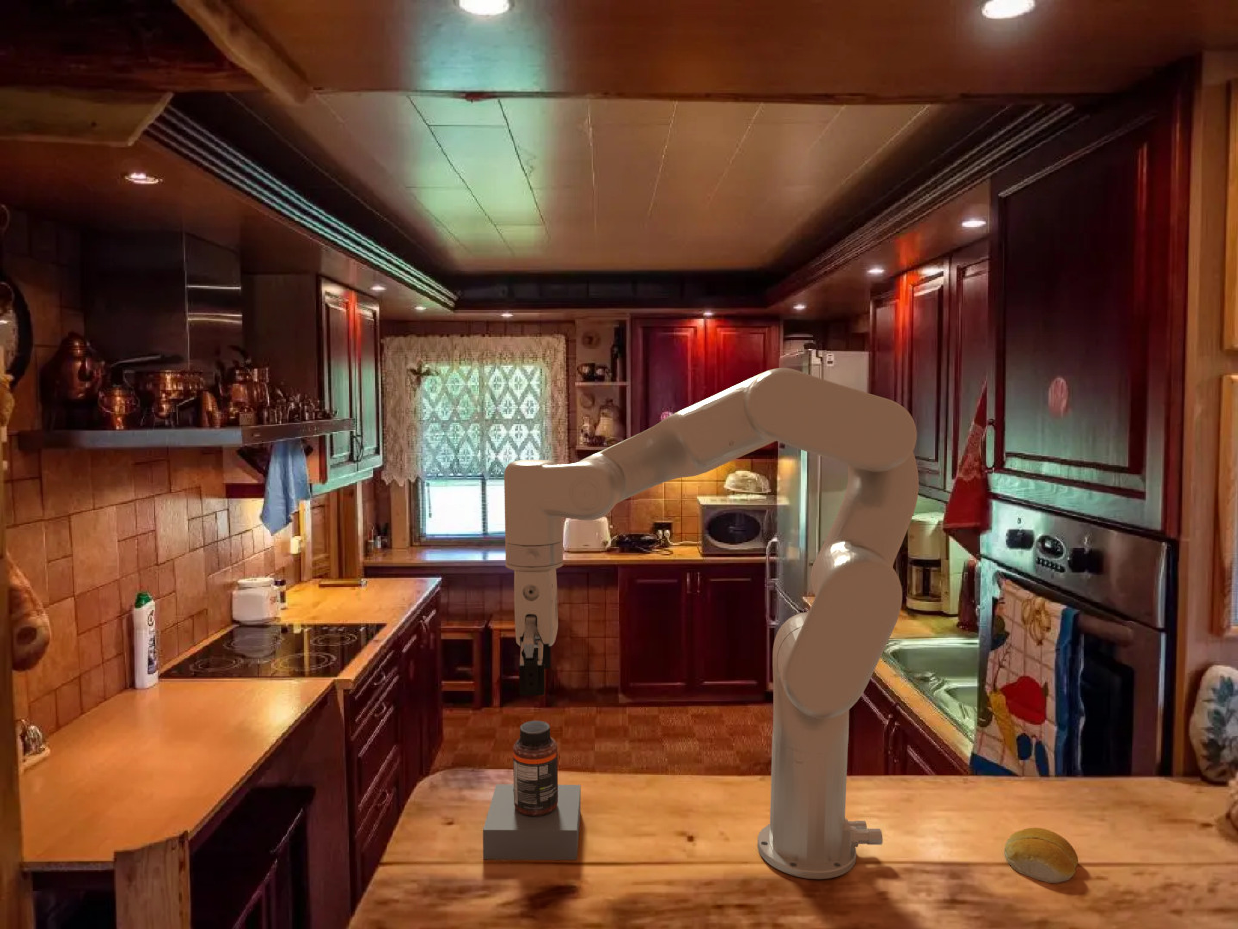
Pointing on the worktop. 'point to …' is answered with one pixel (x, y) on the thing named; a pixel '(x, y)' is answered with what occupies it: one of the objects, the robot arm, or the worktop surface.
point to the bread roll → (1041, 855)
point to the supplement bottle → (535, 770)
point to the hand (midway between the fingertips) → (535, 680)
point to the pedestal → (532, 828)
